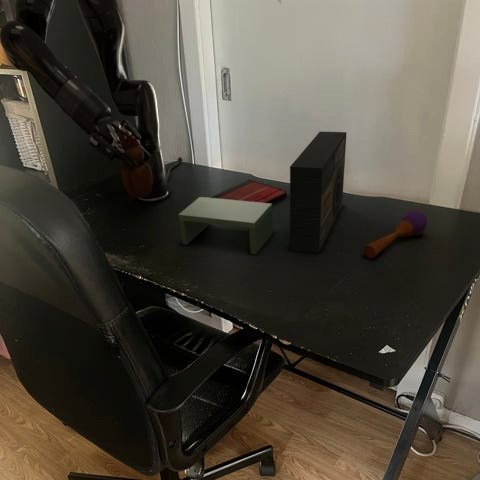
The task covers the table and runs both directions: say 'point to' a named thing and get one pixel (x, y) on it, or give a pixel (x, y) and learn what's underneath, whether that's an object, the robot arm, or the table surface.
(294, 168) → the cassette player
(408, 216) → the orange and purple maraca
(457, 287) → the table surface
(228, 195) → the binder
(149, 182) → the wooden figurine
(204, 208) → the desk shelf
